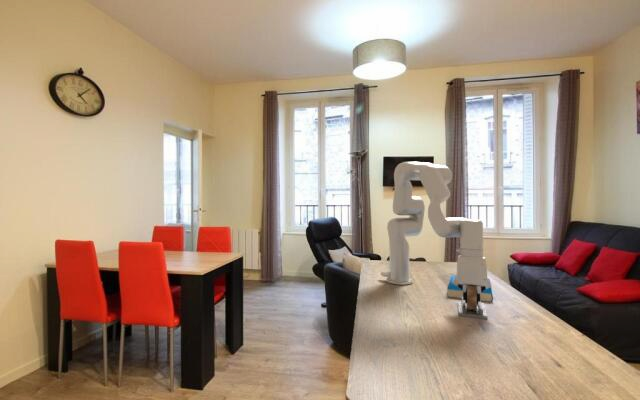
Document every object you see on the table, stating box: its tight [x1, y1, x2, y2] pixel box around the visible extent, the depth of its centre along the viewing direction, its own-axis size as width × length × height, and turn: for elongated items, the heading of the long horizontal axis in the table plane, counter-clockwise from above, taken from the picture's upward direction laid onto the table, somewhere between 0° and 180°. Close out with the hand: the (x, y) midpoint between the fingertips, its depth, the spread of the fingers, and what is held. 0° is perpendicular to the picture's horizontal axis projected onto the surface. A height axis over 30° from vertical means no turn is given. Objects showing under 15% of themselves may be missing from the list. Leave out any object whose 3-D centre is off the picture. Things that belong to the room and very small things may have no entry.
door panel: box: [467, 285, 477, 310], centre depth 117 cm, size 3×8×8 cm, turn 157°
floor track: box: [457, 297, 488, 320], centre depth 117 cm, size 15×9×2 cm, turn 157°
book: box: [447, 274, 494, 302], centre depth 141 cm, size 17×4×25 cm
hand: (471, 302), depth 117 cm, fingers closed on door panel, 3 cm apart
